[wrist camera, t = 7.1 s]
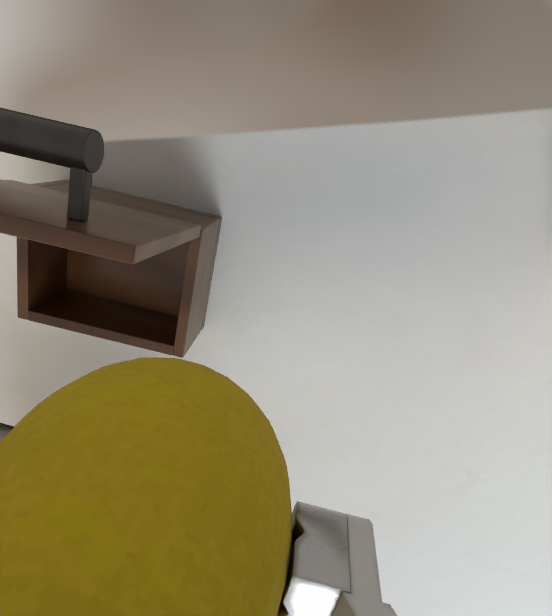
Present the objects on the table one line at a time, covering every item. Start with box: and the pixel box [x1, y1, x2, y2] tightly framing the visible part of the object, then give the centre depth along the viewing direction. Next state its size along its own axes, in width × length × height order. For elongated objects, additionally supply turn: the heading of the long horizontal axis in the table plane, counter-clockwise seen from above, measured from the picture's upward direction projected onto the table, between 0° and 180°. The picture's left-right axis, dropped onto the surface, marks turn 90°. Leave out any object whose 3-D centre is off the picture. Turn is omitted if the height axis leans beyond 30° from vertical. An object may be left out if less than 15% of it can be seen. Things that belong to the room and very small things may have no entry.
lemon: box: [0, 358, 292, 616], centre depth 8 cm, size 6×6×8 cm
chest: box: [17, 180, 222, 357], centre depth 32 cm, size 10×13×6 cm
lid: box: [0, 108, 201, 264], centre depth 22 cm, size 10×13×5 cm
